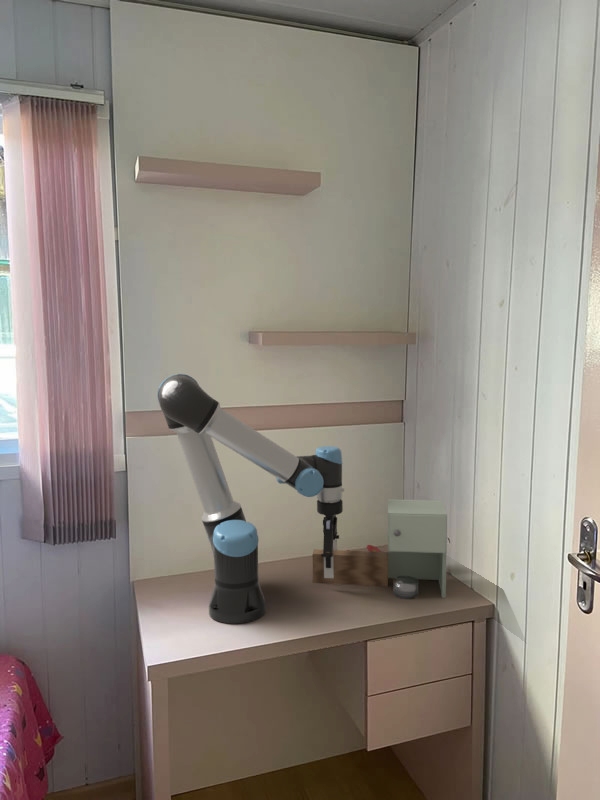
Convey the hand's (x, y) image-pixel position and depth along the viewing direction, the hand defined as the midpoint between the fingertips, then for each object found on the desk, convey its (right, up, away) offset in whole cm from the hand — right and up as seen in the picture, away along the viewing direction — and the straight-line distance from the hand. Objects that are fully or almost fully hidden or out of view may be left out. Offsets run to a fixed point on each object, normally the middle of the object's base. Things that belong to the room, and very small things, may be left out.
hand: (330, 568), depth 193 cm
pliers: (+14, -2, +16) cm, 21 cm away
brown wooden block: (+6, -4, 0) cm, 7 cm away
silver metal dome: (+21, -5, -9) cm, 23 cm away
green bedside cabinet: (+24, -4, -5) cm, 25 cm away
